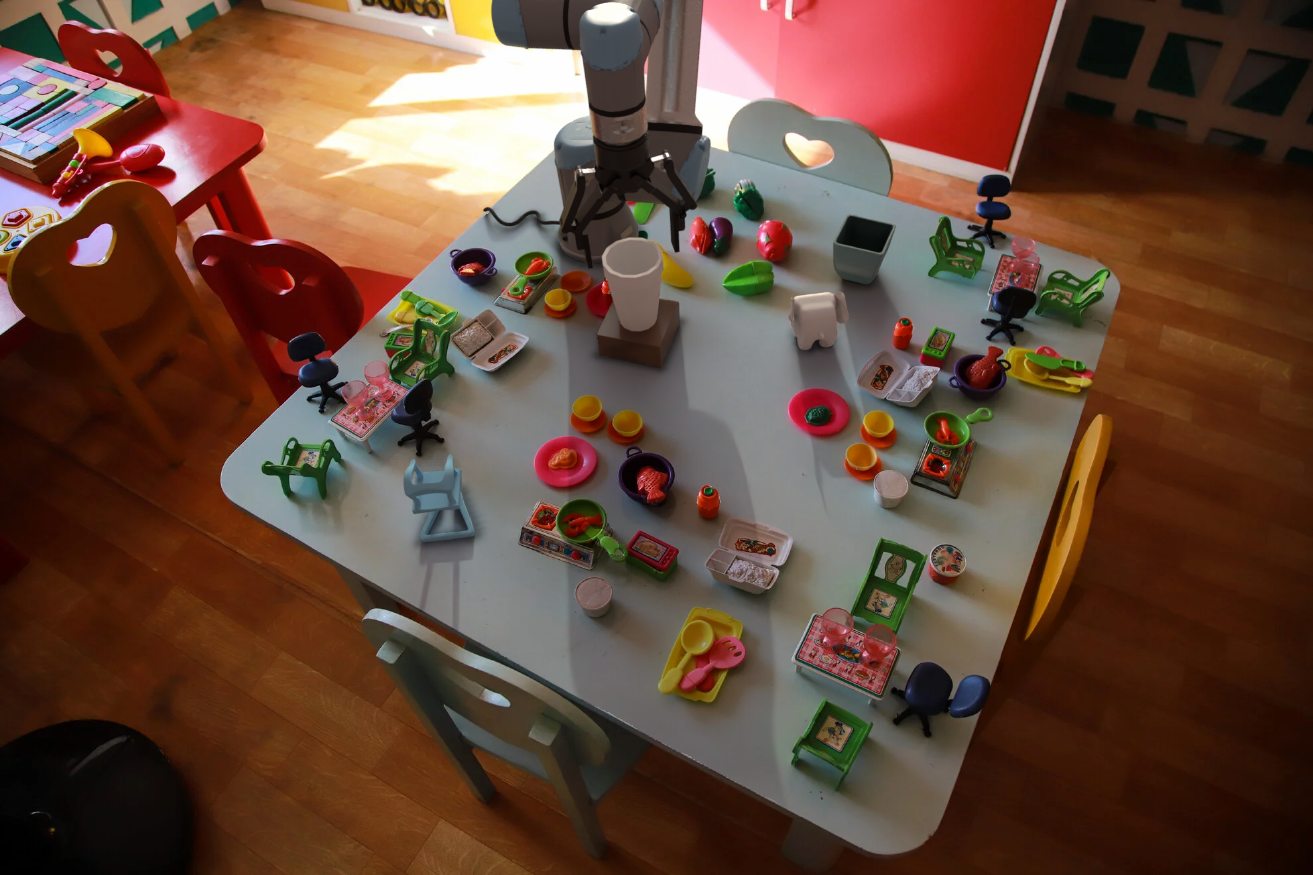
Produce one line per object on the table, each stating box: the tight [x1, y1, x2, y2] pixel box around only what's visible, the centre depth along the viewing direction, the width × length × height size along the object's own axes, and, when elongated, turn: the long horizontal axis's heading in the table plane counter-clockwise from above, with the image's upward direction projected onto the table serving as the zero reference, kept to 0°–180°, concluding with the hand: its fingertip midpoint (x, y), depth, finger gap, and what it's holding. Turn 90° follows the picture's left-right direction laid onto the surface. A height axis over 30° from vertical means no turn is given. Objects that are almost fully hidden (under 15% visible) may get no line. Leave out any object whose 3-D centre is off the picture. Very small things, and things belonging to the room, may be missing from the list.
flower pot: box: [832, 213, 897, 286], centre depth 144 cm, size 9×9×9 cm
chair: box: [403, 454, 476, 543], centre depth 116 cm, size 8×8×12 cm
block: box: [595, 297, 681, 368], centre depth 139 cm, size 11×11×5 cm
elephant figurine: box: [788, 291, 850, 351], centre depth 136 cm, size 10×12×9 cm
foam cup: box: [602, 237, 664, 331], centre depth 132 cm, size 10×9×13 cm
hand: (632, 255), depth 127 cm, fingers open, 13 cm apart
